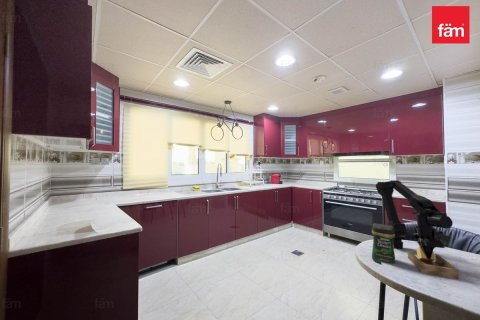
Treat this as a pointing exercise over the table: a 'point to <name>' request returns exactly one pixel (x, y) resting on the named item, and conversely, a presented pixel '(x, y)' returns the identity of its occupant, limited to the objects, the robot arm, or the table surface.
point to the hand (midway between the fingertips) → (428, 258)
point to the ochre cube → (422, 256)
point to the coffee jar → (383, 243)
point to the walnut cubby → (434, 266)
